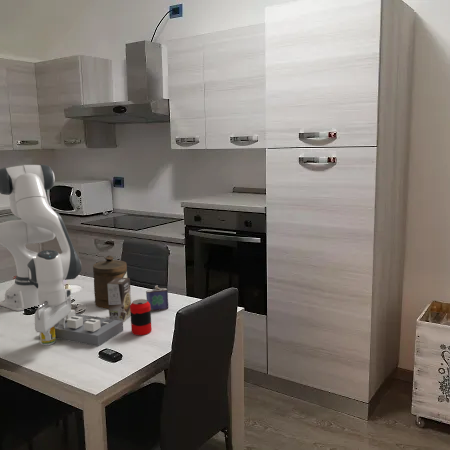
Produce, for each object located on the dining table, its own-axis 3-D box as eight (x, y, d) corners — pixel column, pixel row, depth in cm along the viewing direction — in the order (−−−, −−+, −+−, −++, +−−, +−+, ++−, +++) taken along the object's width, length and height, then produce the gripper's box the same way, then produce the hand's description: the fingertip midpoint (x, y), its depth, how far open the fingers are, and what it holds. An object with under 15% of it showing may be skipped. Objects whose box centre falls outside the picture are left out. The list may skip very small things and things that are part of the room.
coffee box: (124, 322, 196) (121, 284, 193) (109, 321, 197) (106, 283, 195) (132, 314, 205) (130, 277, 202) (118, 313, 206) (116, 277, 203)
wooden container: (132, 305, 217) (130, 257, 213) (99, 311, 210) (95, 261, 206) (123, 295, 230) (121, 250, 226) (92, 301, 223) (88, 254, 219)
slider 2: (67, 327, 181) (66, 318, 180) (74, 323, 184) (74, 315, 184) (76, 328, 179) (75, 320, 179) (83, 324, 183) (82, 316, 182)
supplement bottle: (38, 342, 179) (35, 318, 177) (52, 338, 182) (49, 314, 181) (44, 347, 175) (42, 321, 173) (58, 342, 179) (56, 317, 177)
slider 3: (84, 330, 178) (84, 321, 177) (91, 326, 181) (91, 317, 181) (93, 331, 176) (92, 323, 175) (100, 327, 180) (100, 319, 179)
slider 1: (60, 319, 189) (59, 311, 188) (67, 316, 192) (66, 308, 192) (68, 321, 187) (67, 312, 186) (75, 317, 190) (74, 309, 190)
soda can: (131, 336, 182) (129, 305, 180) (131, 328, 190) (129, 299, 187) (152, 334, 184) (150, 304, 182) (151, 326, 191) (149, 297, 189)
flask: (147, 311, 208) (146, 287, 206) (146, 309, 210) (145, 285, 209) (168, 309, 210) (167, 285, 208) (168, 307, 213) (166, 283, 211)
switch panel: (31, 333, 187) (30, 323, 186) (59, 320, 201) (58, 310, 200) (98, 346, 174) (97, 335, 173) (123, 330, 188) (122, 320, 187)
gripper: (45, 307, 159) (49, 347, 162) (73, 288, 179) (76, 323, 182) (27, 307, 160) (31, 346, 163) (57, 288, 180) (60, 323, 183)
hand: (55, 334), depth 173 cm, fingers open, 8 cm apart
